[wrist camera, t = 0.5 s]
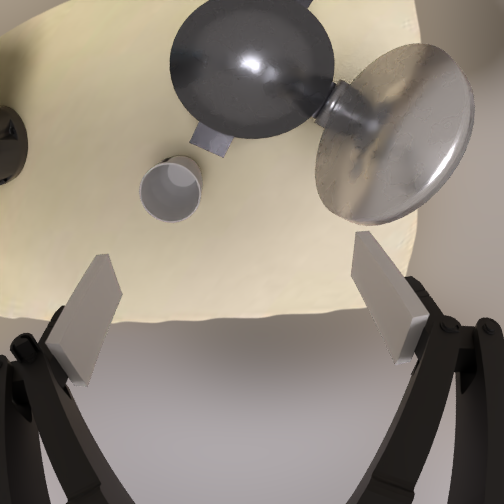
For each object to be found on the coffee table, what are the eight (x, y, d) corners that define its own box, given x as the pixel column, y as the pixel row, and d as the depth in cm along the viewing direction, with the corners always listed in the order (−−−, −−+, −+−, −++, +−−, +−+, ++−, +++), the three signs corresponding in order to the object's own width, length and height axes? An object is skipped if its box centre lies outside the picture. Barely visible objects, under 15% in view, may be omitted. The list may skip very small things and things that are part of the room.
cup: (182, 136, 44) (167, 149, 35) (219, 172, 47) (214, 193, 38) (148, 172, 46) (127, 194, 38) (184, 206, 49) (172, 234, 41)
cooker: (158, 112, 42) (132, 121, 31) (229, -18, 31) (225, -49, 21) (280, 167, 47) (291, 193, 36) (352, 43, 37) (385, 33, 26)
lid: (364, 262, 19) (398, 277, 20) (492, 44, 11) (516, 80, 13) (287, 164, 35) (312, 177, 37) (360, 40, 27) (383, 58, 29)
